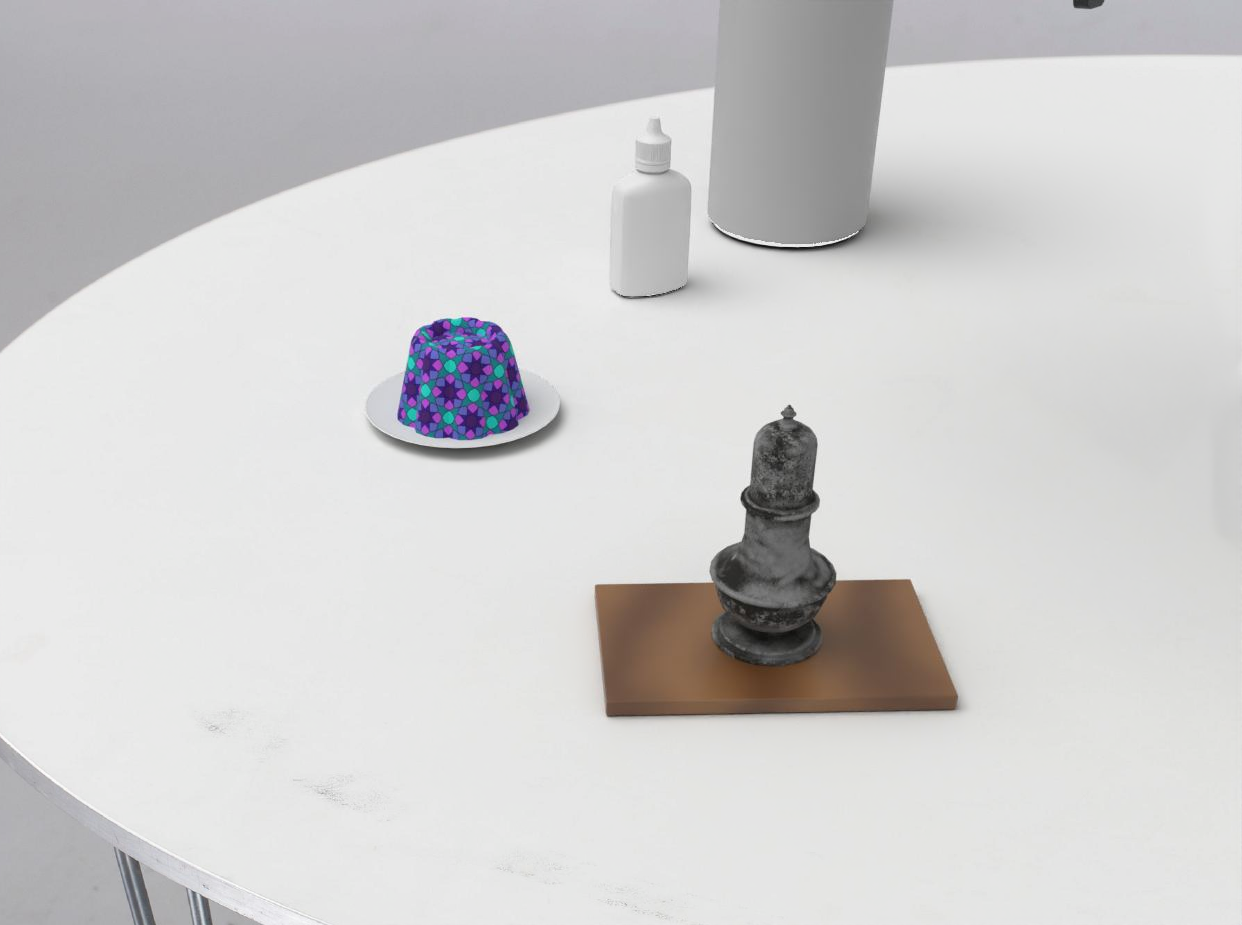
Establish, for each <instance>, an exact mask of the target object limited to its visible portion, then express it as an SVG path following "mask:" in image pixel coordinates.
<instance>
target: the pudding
mask: <svg viewBox="0 0 1242 925" xmlns="http://www.w3.org/2000/svg"><path fill="white" fill-rule="evenodd" d="M560 406H561V398H560V395H559V393H558V391H557V390H556V388H555V387H554V385H552V384H551V383H550V382H549V381H548V380H545V379H544V378H542V377H541V376H540V375H537V374H535V373H533V372H531V371H528V370H525V369H522V368H519V366H518V363H517V358H516V355H515V351H514V347H513V344H512V342H511V340H510V337H509V336H508V334H507V333H505V331H504V330H503V328H502V327H501V326H500V325H499V324H497V323H495V322H493V321H490V320H480V319H479V318H476V317H471V316H461V317H458V318H449V317H447V318H446V317H445V318H440V319H436V320H434V321H433V322H432V323H431V324H426V325H423V326H421V327H419V328H418V329H416V331H415V332H414V334H413V336H412V337H411V341H410V345H409V348H408V354H407V360H406V366H405V371H402V372H399V373H397V374H394V375H392V376H390V377H388V378H387V379H385V380H382V381H381V382H380V383H378V384H377V385H376V386H375V387H373V389H372V390H371V391H370V392H369V393H368V395H367V396H366V399H365V401H364V409H363V410H364V412H365V415H366V418H367V419H368V421H369V422H370V424H372V425H373V426H374V427H375V428H377V429H378V430H379V431H381V432H382V433H384V434H386V435H388V436H391V437H392V438H395V439H398V440H401V441H403V442H406V443H410V444H415V445H420V446H426V447H431V448H433V447H434V448H445V449H447V448H448V449H469V448H471V449H473V448H482V447H490V446H496V445H500V444H505V443H506V444H507V443H510V442H512V441H513V442H514V441H516V440H519V439H522V438H525V437H527V436H529V435H532V434H534V433H536V432H538V431H540V430H542V429H543V428H544V427H546V426H548V424H550V422H552V421H553V420H554V419H555V417H556V416H557V415H558V412H559V411H560Z"/></svg>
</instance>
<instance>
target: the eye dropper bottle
mask: <svg viewBox="0 0 1242 925" xmlns="http://www.w3.org/2000/svg"><path fill="white" fill-rule="evenodd" d="M647 121H648V122H647V125H646V126H647V127H646V130H645V132H644V133H642V134H638V136H637V137H635V151H634V152H635V155H634V156H635V157H634V168H635V170H632V171H631V172H628V173H627V174H625V175H623V176H622V177H621V178H619V179H618V180H617V181H616V182H615V184H614V185H613V186H612V189H611V197H610V199H611V200H610V201H611V202H610V224H609V228H610V229H609V266H608V268H609V270H608V284H609V287H610V289H612V290H613V291H614V292H615V291H616V292H615V293H616V294H618V295H619V294H620V295H619V296H621V295H623V296H647V295H652V294H654V295H655V294H661V293H664V292H669V291H672V290H675V291H677V290H679V289H678V288H679V287H681V288H683V287H685V285H686V284H687V282H688V275H689V274H688V273H689V258H690V257H689V255H690V236H691V219H692V218H691V216H692V192H693V191H692V184H691V182H690V180H689V178H688V177H686V176H685V175H684V174H682V173H681V172H679V171H677V170H674V169H670V168H671V159H672V158H671V157H672V137H670V136H669V135H668V134H665V133H664V132H663V131H662V125H661V118H660V116H658V115H651V116H649V118H648V120H647ZM682 286H683V287H682ZM676 289H677V290H676ZM672 292H673V291H672ZM669 293H670V292H669ZM661 295H662V294H661ZM623 296H622V297H623Z"/></svg>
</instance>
